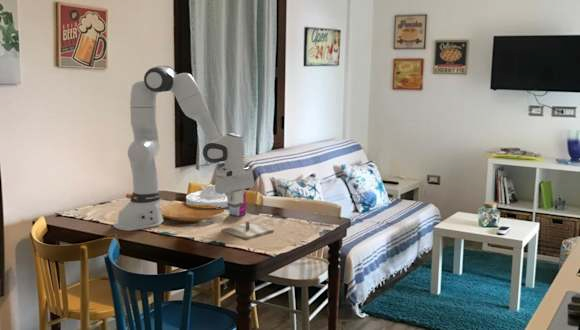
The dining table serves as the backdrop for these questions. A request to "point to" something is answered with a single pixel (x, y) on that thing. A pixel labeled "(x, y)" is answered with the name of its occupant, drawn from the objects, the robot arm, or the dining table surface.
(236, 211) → the supplement box
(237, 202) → the sleeve
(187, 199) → the cake
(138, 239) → the dining table surface
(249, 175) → the robot arm
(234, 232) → the pin board
